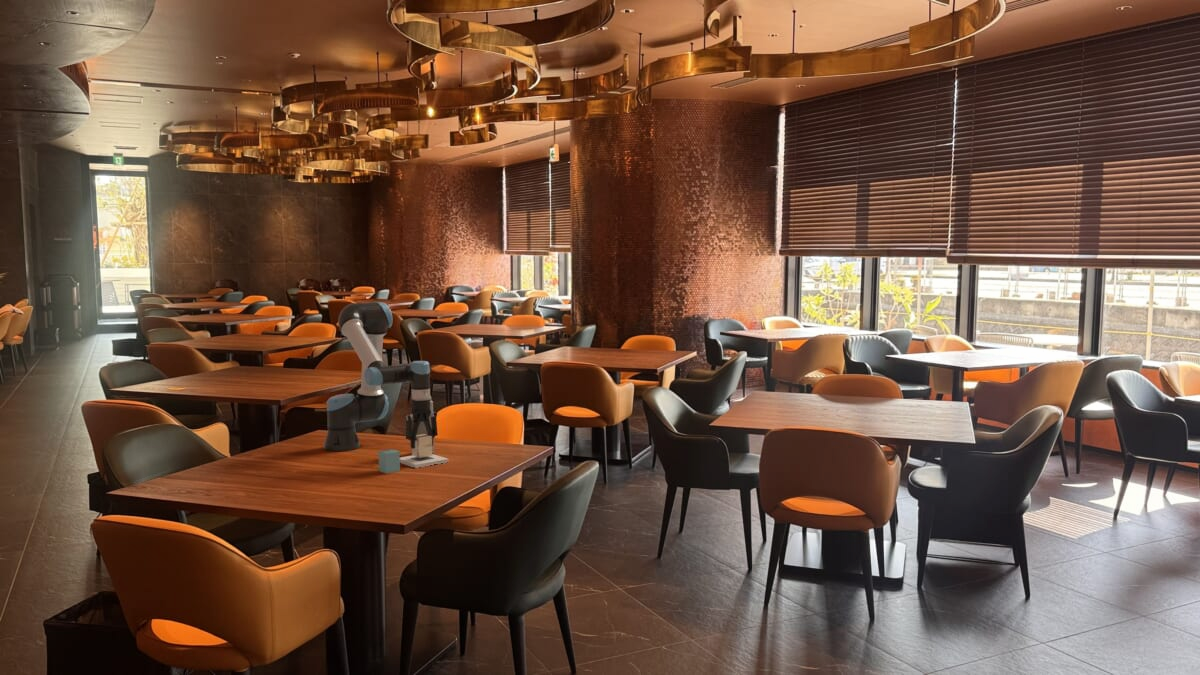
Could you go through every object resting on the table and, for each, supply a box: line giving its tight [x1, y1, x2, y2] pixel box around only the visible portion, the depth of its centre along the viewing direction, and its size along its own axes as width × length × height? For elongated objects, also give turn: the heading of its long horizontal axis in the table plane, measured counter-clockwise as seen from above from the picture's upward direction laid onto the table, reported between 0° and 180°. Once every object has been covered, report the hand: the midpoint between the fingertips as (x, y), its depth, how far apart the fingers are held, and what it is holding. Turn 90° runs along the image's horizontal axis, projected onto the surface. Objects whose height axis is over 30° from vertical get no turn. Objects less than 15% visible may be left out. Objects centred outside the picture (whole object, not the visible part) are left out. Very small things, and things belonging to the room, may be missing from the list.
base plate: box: [400, 453, 449, 469], centre depth 369 cm, size 16×15×2 cm
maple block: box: [411, 434, 432, 458], centre depth 369 cm, size 6×6×8 cm
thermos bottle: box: [417, 395, 435, 454], centre depth 385 cm, size 8×8×28 cm
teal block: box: [377, 448, 401, 474], centre depth 354 cm, size 6×6×8 cm
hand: (422, 454), depth 369 cm, fingers closed on maple block, 6 cm apart
